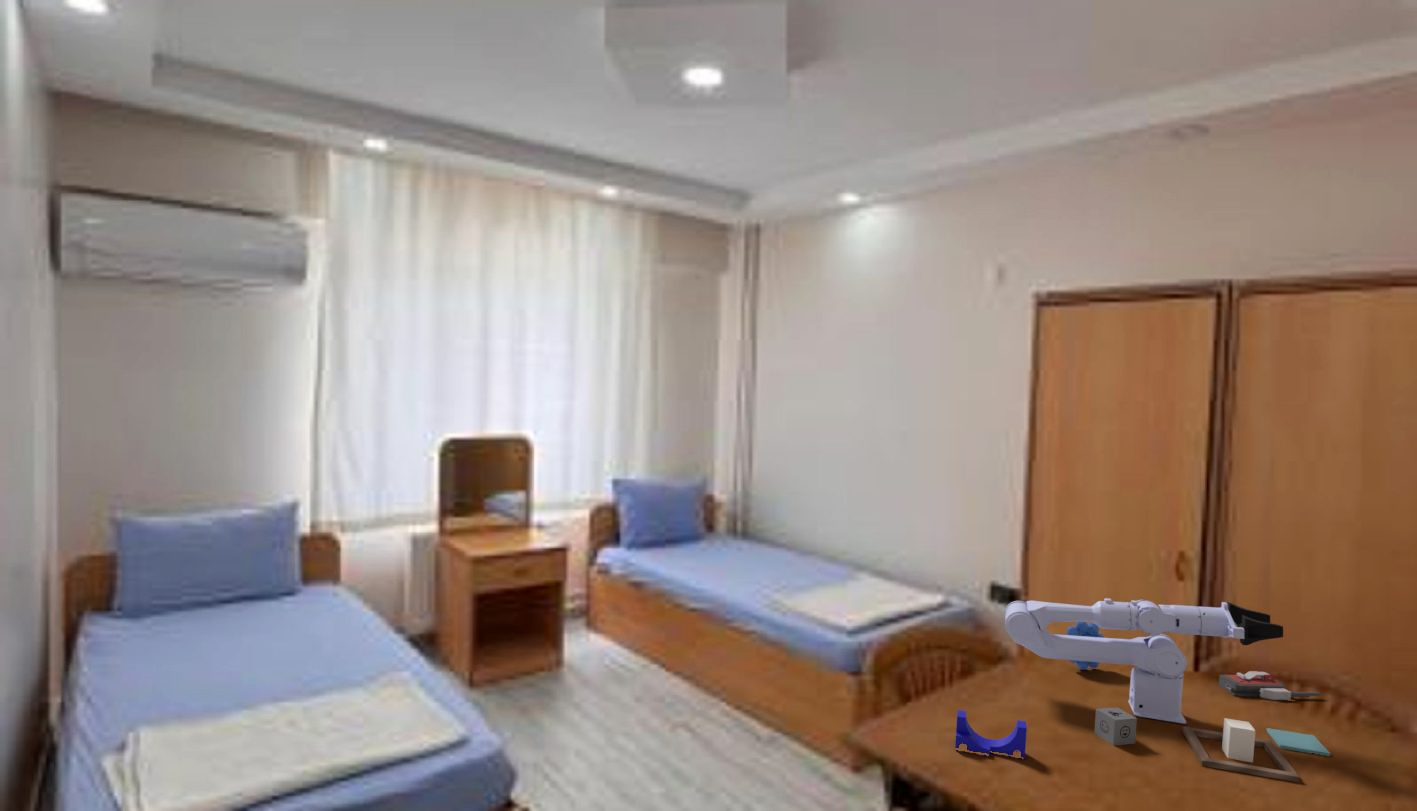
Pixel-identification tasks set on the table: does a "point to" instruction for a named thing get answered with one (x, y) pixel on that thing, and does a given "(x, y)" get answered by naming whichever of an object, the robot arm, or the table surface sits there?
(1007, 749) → the blue cradle stand
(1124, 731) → the dice cube
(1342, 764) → the table surface
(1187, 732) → the brown square frame
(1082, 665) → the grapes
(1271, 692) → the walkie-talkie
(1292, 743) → the mat
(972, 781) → the table surface
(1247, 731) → the cream block
